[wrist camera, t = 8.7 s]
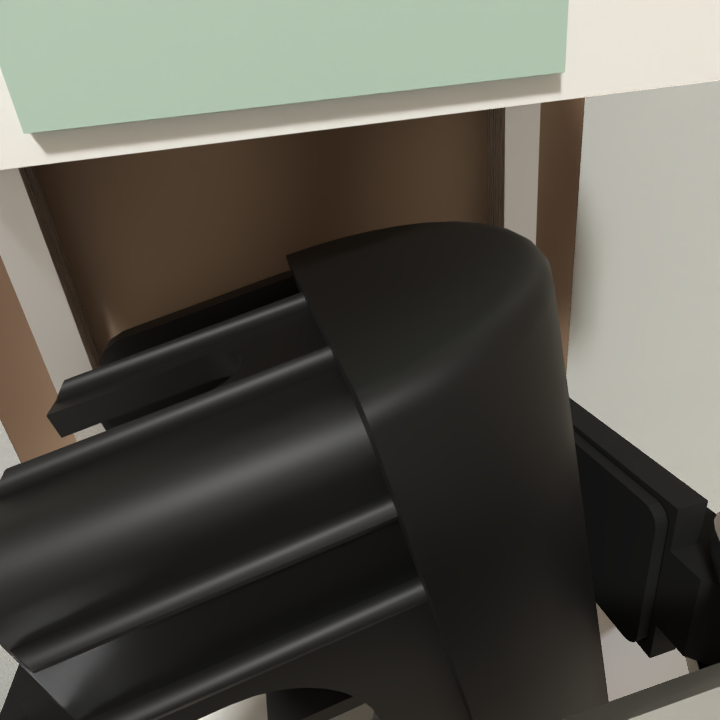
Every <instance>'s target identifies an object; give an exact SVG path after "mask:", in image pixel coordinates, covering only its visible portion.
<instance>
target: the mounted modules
mask: <svg viewBox="0 0 720 720" xmlns="http://www.w3.org/2000/svg"><path fill="white" fill-rule="evenodd" d="M712 81H720V0H0V170H4V169H12V168H20V167H28V166H36V165H44V164H52V163H60V162H68V161H76V160H84V159H92V158H100V157H109V156H117V155H125V154H133V153H141V152H149V151H157V150H165V149H173V148H181V147H189V146H197V145H205V144H213V143H221V142H229V141H237V140H245V139H253V138H261V137H269V136H277V135H285V134H294V133H302V132H310V131H318V130H326V129H334V128H342V127H350V126H358V125H366V124H374V123H382V122H390V121H398V120H406V119H414V118H422V117H430V116H438V115H446V114H454V113H462V112H471V111H479V110H487V109H495V108H503V107H511V106H519V105H527V104H535V103H543V102H551V101H559V100H567V99H575V98H583V97H591V96H599V95H607V94H615V93H623V92H631V91H639V90H647V89H656V88H664V87H672V86H680V85H688V84H696V83H704V82H712ZM373 715H374V711H373V709H372V708H371V707H370V706H368V705H367V704H366V703H365V704H363V705H361V706H358V707H356V708H354V709H352V710H350V711H347V712H345V713H343V714H341V715H338V716H336V717H334V718H332V719H330V720H372V718H373ZM198 720H268V718H267V704H266V693H265V694H261V695H257V696H254V697H251V698H248V699H245V700H243V701H240V702H237V703H235V704H232V705H230V706H227V707H225V708H223V709H221V710H218V711H216V712H214V713H211V714H209V715H207V716H205V717H202V718H200V719H198Z"/></svg>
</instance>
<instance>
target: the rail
mask: <svg viewBox="0 0 720 720" xmlns="http://www.w3.org/2000/svg"><path fill="white" fill-rule="evenodd" d="M540 108H541V103H535V104H527V105H519V106H511V107H503V108H495V109H487V180H488V224H489V225H493V226H498V227H503V228H507V229H509V230H511V231H513V232H515V233H517V234H519V235H522V236H524V237H526V238H527V239H529V240H531V241H532V242H533V243H534V244H535V245H536V223H537V194H538V165H539V136H540ZM0 256H1V258H2V261H3V263H4V265H5V268H6V270H7V273H8V275H9V278H10V280H11V282H12V285H13V287H14V290H15V292H16V295H17V297H18V299H19V302H20V304H21V307H22V309H23V312H24V314H25V316H26V319H27V321H28V324H29V326H30V329H31V331H32V334H33V336H34V338H35V341H36V343H37V346H38V348H39V351H40V353H41V355H42V358H43V360H44V363H45V365H46V368H47V370H48V372H49V375H50V377H51V380H52V382H53V385H54V387H55V389H56V392H57V394H58V393H59V391H60V388H61V386H62V384H63V382H64V380H66V379H69V378H71V377H74V376H77V375H79V374H82V373H85V372H87V371H90V370H93V369H96V368H98V367H100V366H99V362H100V359H101V355H100V352H99V349H98V346H97V344H96V341H95V338H94V335H93V332H92V330H91V327H90V324H89V321H88V318H87V316H86V313H85V310H84V307H83V304H82V302H81V299H80V296H79V293H78V290H77V288H76V285H75V282H74V279H73V276H72V274H71V271H70V268H69V265H68V262H67V260H66V257H65V254H64V251H63V248H62V246H61V243H60V240H59V237H58V234H57V232H56V229H55V226H54V223H53V220H52V218H51V215H50V212H49V209H48V206H47V204H46V201H45V198H44V195H43V192H42V190H41V187H40V184H39V181H38V178H37V176H36V173H35V170H34V167H33V166H28V167H20V168H12V169H4V170H0ZM104 431H106V430H105V429H104V427H103V425H102V424H101V423H99V424H97V425H94V426H92V427H89V428H86V429H84V430H81V431H78V432H76V433H74V436H75V438H76V441H77V442H78V441H80V440H83V439H86V438H88V437H91V436H94V435H96V434H99V433H101V432H104Z"/></svg>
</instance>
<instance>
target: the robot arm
mask: <svg viewBox="0 0 720 720" xmlns="http://www.w3.org/2000/svg"><path fill="white" fill-rule="evenodd" d="M569 402H570V409H571V417H572V425H573V432H574V440H575V448H576V455H577V463H578V471H579V478H580V486H581V494H582V502H583V509H584V517H585V525H586V532H587V540H588V548H589V555H590V563H591V571H592V578H593V586H594V594H595V601H596V603H597V604H598V605H599V607H600V608H601V609H602V610H603V611H604V613H605V614H606V615H607V616H608V618H609V619H610V620H611V621H612V623H613V624H614V625H615V626H616V627H617V629H618V630H619V631H620V632H621V633H622V635H623V636H624V637H625V638H626V639H627V640H629V641H631V642H635V641H636V642H637V643H638V645H639V646H641V648H642V649H643V651H644V652H645V653H646V654H647V655H648V657H649V658H651V657H654V656H657V655H660V654H663V653H665V652H668V651H671V650H674V649H675V648H677V649H678V651H679V652H680V653H681V654H682V655H683V656H685V657H686V661H687V666H688V670H689V674H686V675H683V676H681V677H678V678H675V679H672V680H669V681H667V682H664V683H661V684H658V685H655V686H653V687H650V688H647V689H644V690H641V691H639V692H636V693H633V694H630V695H627V696H625V697H622V698H619V699H616V700H613V701H611V702H608V703H605V704H602V705H599V706H597V707H594V708H591V709H588V710H585V711H583V712H580V713H577V714H574V715H571V716H569V717H566V718H563V719H560V720H720V512H719V513H717V514H715V513H714V512H713V511H711V510H710V509H709V508H707V503H708V500H706V499H705V498H704V497H702V496H701V495H700V494H698V493H697V492H696V491H694V490H693V489H692V488H690V487H689V486H688V485H686V484H685V483H684V482H682V481H681V480H680V479H678V478H677V477H675V476H674V475H673V474H671V473H670V472H669V471H667V470H666V469H665V468H663V467H662V466H661V465H659V464H658V463H657V462H655V461H654V460H653V459H651V458H650V457H649V456H647V455H646V454H645V453H643V452H642V451H640V450H639V449H638V448H636V447H635V446H634V445H632V444H631V443H630V442H628V441H627V440H626V439H624V438H623V437H622V436H620V435H619V434H618V433H616V432H615V431H614V430H612V429H611V428H610V427H608V426H607V425H605V424H604V423H603V422H601V421H600V420H599V419H597V418H596V417H595V416H593V415H592V414H591V413H589V412H588V411H587V410H585V409H584V408H583V407H581V406H580V405H579V404H577V403H576V402H575V401H573V400H572V399H570V398H569ZM0 720H75V719H74V718H73V717H72V716H71V715H70V714H69V713H68V712H67V711H66V710H65V709H64V708H63V707H62V706H61V705H60V704H59V703H58V702H57V701H56V700H55V699H54V698H53V697H52V696H51V695H50V694H49V693H48V692H47V691H46V690H45V689H44V688H43V687H42V686H41V685H40V684H39V683H38V682H37V681H36V680H35V679H34V678H33V677H32V676H31V675H30V674H29V673H28V672H27V671H26V670H25V669H24V668H23V667H22V666H21V665H20V664H19V666H18V669H17V671H16V674H15V677H14V679H13V682H12V685H11V687H10V690H9V693H8V695H7V698H6V700H5V703H4V706H3V708H2V711H1V714H0Z"/></svg>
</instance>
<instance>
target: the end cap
mask: <svg viewBox="0 0 720 720" xmlns="http://www.w3.org/2000/svg"><path fill="white" fill-rule="evenodd" d="M286 258H287V261H288V264H289V267H290V269H291V270H290V271H286V272H283V273H280V274H277V275H274V276H272V277H269V278H266V279H263V280H261V281H258V282H255V283H253V284H250V285H247V286H244V287H242V288H239V289H236V290H233V291H231V292H228V293H225V294H222V295H220V296H217V297H214V298H212V299H209V300H206V301H203V302H201V303H198V304H195V305H192V306H190V307H187V308H184V309H182V310H179V311H176V312H173V313H171V314H168V315H165V316H162V317H160V318H157V319H154V320H152V321H149V322H146V323H143V324H141V325H138V326H135V327H132V328H130V329H127V330H124V331H122V332H121V333H119V334H118V335H116V336H115V337H113V338H112V339H111V340H110V341H109V342H108V344H107V346H106V348H105V350H104V352H103V354H102V357H101V359H100V362H99V366H100V367H98V368H96V369H93V370H90V371H87V372H85V373H82V374H79V375H77V376H74V377H71V378H69V379H66V380H64V382H63V384H62V386H61V388H60V391H59V393H58V396H57V399H56V401H55V403H54V404H53V406H52V407H51V409H50V410H49V412H48V413H47V415H46V416H47V418H48V419H49V421H50V422H51V424H52V425H53V426H54V428H55V429H56V431H57V432H58V434H59V435H60V436H61V438H63V437H65V436H68V435H71V434H73V433H76V432H78V431H81V430H84V429H86V428H89V427H92V426H94V425H97V424H99V423H101V424H102V425H103V427H104V429H105V430H106V431H104V432H101V433H99V434H96V435H94V436H91V437H88V438H86V439H83V440H80V441H78V442H75V443H73V444H70V445H67V446H65V447H62V448H60V449H57V450H54V451H52V452H49V453H47V454H44V455H41V456H39V457H36V458H33V459H31V460H28V461H26V462H23V463H20V464H18V465H15V466H13V467H10V468H7V469H6V470H5V472H4V474H3V476H2V478H1V480H0V645H1V646H2V647H3V648H4V649H5V650H6V651H7V652H8V653H9V654H10V655H11V656H12V657H13V658H14V659H15V660H16V661H17V662H18V663H19V664H20V665H21V666H22V667H23V668H24V669H25V670H26V671H27V672H28V673H29V674H30V675H31V676H32V677H33V678H34V679H35V680H36V681H37V682H38V683H39V684H40V685H41V686H42V687H43V688H44V689H45V690H46V691H47V692H48V693H49V694H50V695H51V696H52V697H53V698H54V699H55V700H56V701H57V702H58V703H59V704H60V705H61V706H62V707H63V708H64V709H65V710H66V711H67V712H68V713H69V714H70V715H71V716H72V717H73V718H74V719H75V720H198V719H200V718H202V717H205V716H207V715H209V714H211V713H214V712H216V711H218V710H221V709H223V708H225V707H227V706H230V705H232V704H235V703H237V702H240V701H243V700H245V699H248V698H251V697H254V696H257V695H261V694H265V693H266V704H267V718H268V720H330V719H332V718H334V717H336V716H338V715H341V714H343V713H345V712H347V711H350V710H352V709H354V708H356V707H358V706H361V705H363V704H365V703H366V704H367V705H368V706H370V707H371V708H372V709H373V711H374V715H373V718H372V720H560V719H563V718H566V717H569V716H571V715H574V714H577V713H580V712H583V711H585V710H588V709H591V708H594V707H597V706H599V705H602V704H605V703H608V702H609V701H608V694H607V686H606V678H605V671H604V663H603V656H602V649H601V640H600V632H599V624H598V617H597V609H596V601H595V594H594V586H593V578H592V571H591V563H590V555H589V548H588V540H587V532H586V525H585V517H584V509H583V502H582V494H581V486H580V478H579V471H578V463H577V455H576V448H575V440H574V432H573V425H572V417H571V409H570V402H569V394H568V386H567V379H566V371H565V363H564V356H563V348H562V340H561V332H560V325H559V317H558V309H557V302H556V294H555V286H554V282H553V277H552V272H551V267H550V264H549V261H548V259H547V258H546V257H545V256H544V254H543V253H542V252H541V251H540V250H539V249H538V248H537V247H536V245H535V244H534V243H533V242H532V241H531V240H529V239H527V238H526V237H524V236H522V235H519V234H517V233H515V232H513V231H511V230H509V229H507V228H503V227H498V226H493V225H489V224H484V223H474V222H459V221H447V222H426V223H417V224H408V225H400V226H394V227H389V228H383V229H378V230H372V231H368V232H364V233H359V234H355V235H351V236H347V237H343V238H339V239H336V240H332V241H329V242H325V243H322V244H318V245H315V246H312V247H309V248H306V249H303V250H300V251H297V252H294V253H291V254H288V255H286Z"/></svg>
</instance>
